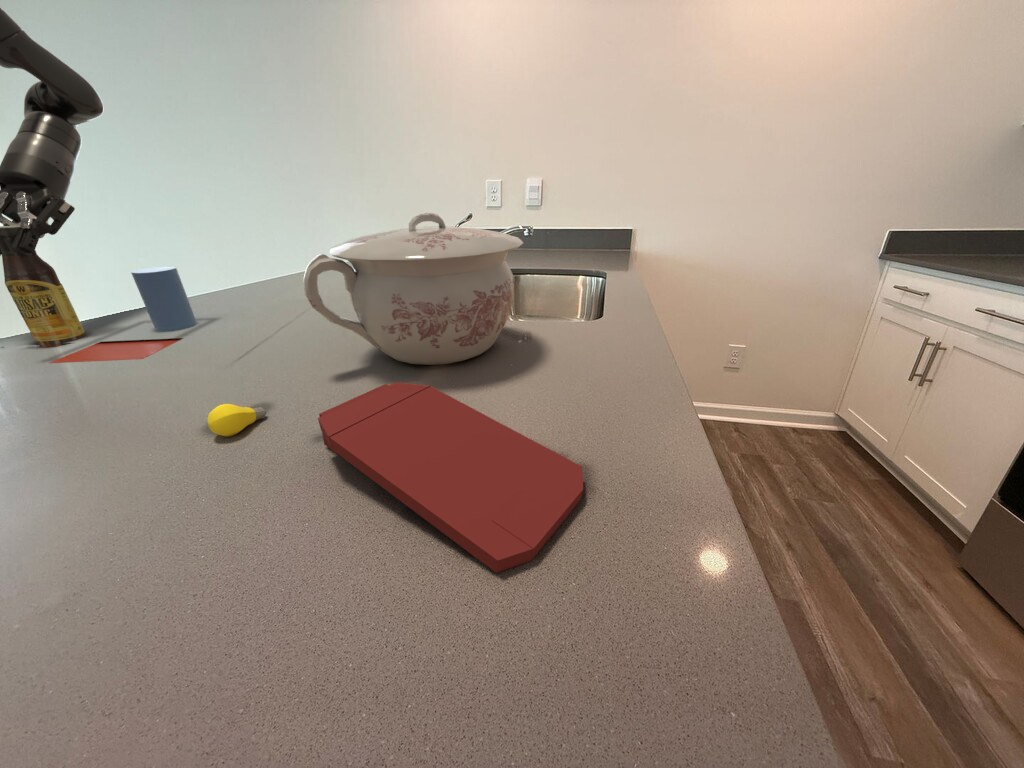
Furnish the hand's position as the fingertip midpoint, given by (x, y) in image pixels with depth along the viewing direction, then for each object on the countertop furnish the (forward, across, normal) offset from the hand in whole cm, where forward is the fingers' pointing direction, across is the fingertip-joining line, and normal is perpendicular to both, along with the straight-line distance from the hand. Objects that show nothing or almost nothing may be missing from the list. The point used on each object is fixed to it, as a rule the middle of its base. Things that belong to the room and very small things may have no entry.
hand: (5, 253), depth 64 cm
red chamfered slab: (+41, +70, -18) cm, 83 cm away
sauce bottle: (+10, 0, +13) cm, 16 cm away
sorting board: (+11, +14, +12) cm, 21 cm away
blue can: (+6, +16, +16) cm, 23 cm away
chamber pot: (+18, +67, +5) cm, 69 cm away
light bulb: (+34, +47, -10) cm, 59 cm away
